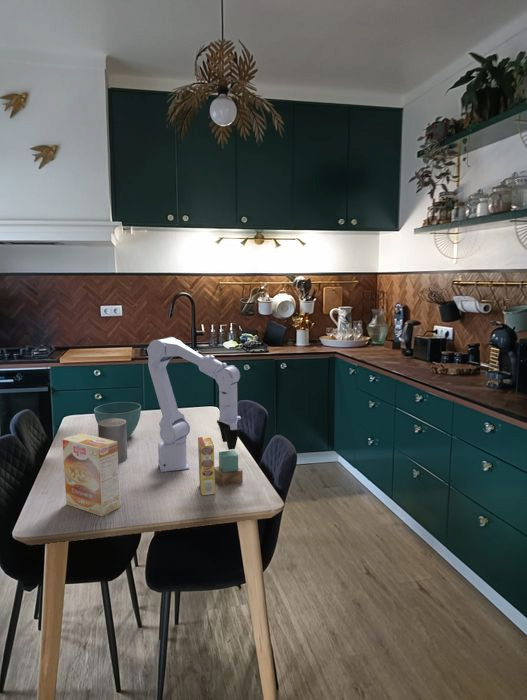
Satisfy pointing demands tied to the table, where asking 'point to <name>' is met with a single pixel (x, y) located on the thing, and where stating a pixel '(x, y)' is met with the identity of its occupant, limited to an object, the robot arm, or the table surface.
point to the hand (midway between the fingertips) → (228, 445)
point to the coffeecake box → (91, 473)
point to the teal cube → (228, 461)
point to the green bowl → (120, 414)
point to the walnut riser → (228, 476)
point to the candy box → (206, 465)
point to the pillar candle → (115, 435)
